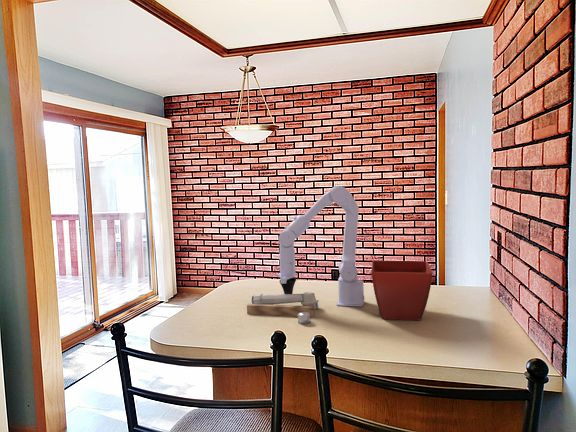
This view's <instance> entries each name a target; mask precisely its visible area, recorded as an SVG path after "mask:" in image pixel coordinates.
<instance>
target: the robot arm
mask: <svg viewBox="0 0 576 432" xmlns="http://www.w3.org/2000/svg"><path fill="white" fill-rule="evenodd" d="M333 202H334V203H335V204H337V205H339V206H340V207H341V208H342V209H343V210H344V211H345V215H344V216H345V218H344V229H343V243H342V244H343V246H342V256H341V261H340V263H339V265H338V271H339V274H340V276H339V277H338V279H337V280H338V282H337V283H338V300H337V303H336V306H342V307H344V306H345V307H363V306H364V303H365V293H364V292H365V291H364V289H365V288H364V280H362V279H358V277H357V276H358V270H357V267H356V252H357V251H356V249H357V236H358V224H359V205H358V204H357V202H356V200H355V199H354V196H353V195H352V193H351V192H350V190H348V189H347V188H346V187H344V186H341V185H334V186H333V187H332V188H331V189H330V190H328V191H327V192H325V193H324V194H323V195H321V196H320V197H319V199H318V200H316V202H315V203H314V204H313V205H312V206H311V207H310V208H309V209H308V210H307V211H306V212H305V213H304V214H298V215H297V216H294V217H293V219H292V221H291V223H289V225H288V226H285V227H284V230H283V231H281V232H280V234H279V237H278V243H279V250H278V251H279V272H278V273H276V276H277V277H279V284H280V286H281V288H282V289H283V290H282V291H283V294H294V293H293V291H294V287H295V284H296V282H297V278H296V277H297V273H296V254H295V252H296V250H295V240H296V239H299V237H301V236H302V235H303V233H304V232H306V230H308V228H309V227H310V226H311V225H310V224H311V223H310V222H311V220H313V219H314V217H316V216H317V215H318V214H319V213H320V212H321V211H322V210H323V209H325V207H329V206H332V205H334V204H333Z"/></svg>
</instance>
